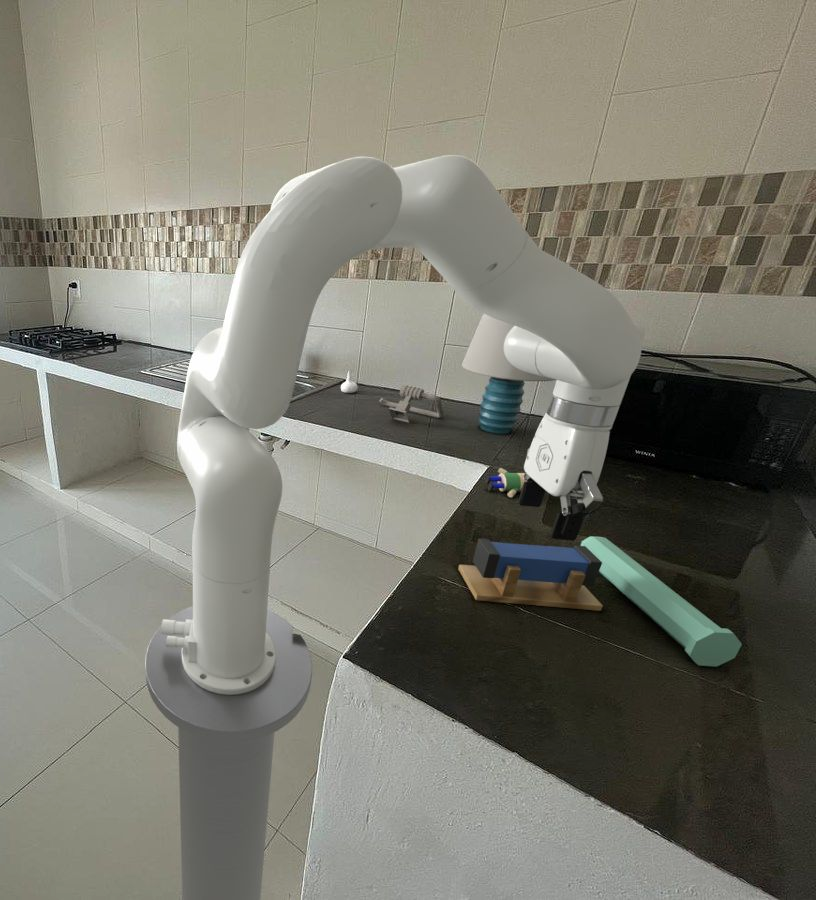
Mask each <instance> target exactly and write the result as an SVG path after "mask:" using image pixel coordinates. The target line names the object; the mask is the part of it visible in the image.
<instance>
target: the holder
mask: <svg viewBox="0 0 816 900" xmlns="http://www.w3.org/2000/svg"><path fill="white" fill-rule="evenodd" d="M496 542H497V543H500V542H498V541H496ZM551 546H552V547H556V546H555V545H554V546H553V545H551ZM457 569H458V572H459V573H460V575H461V576H462V578H463V580H464V582H465V583H466V586H467V587H468V589H469V591H470V592H471V594H472V596H473V598H474V600H475V601H479V602H480V601H481V602H491V603H493V602H494V603H503V604H504V603H505V604H515V605H526V606H527V605H528V606H540V607H550V608H562V609H563V608H564V609H572V610H573V609H574V610H575V609H576V610H587V611H597V612H598V611H599V612H600V611H602V610H603V604H602V603H601V602H600V601H599V599H597V598H596V597H595V596H594V594H593V593H592V592H591V591H590V590H589V589H588V588H587V586H583V585H582V584H583V581H584V578H585V576H586V575H585V574H584V573H583V572H582V571H570V574H569V577H568V580H567V583H566V584H565V583H553V582H540V581H528V580H518V579H519V575H520V572H521V569H520V568H519V567H518V566H507V568H506V571H505V575H504V578H483V577H482V575H481V574H480V572H479V570H478V569H477V567H476V566H475V565H472V564H471V565H470V564H459V565H458V567H457Z"/></svg>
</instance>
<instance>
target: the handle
mask: <svg viewBox="0 0 816 900" xmlns="http://www.w3.org/2000/svg"><path fill="white" fill-rule="evenodd" d="M476 542H477V543H476V546H475V551H474V553H473V558H472V563H473V564H474V566H476V567H477V569H478V570H479V572H480V574H481V575H482V577H483V578H504V575H505V571H506V568H507V566H518V567H519V568H520V569H521V572H520V575H519V579H518V580H528V581H540V582H553V583H565V584H566V583H567V580H568V577H569V574H570V571H582V572H583V573H584V574H585V575H586V576H585V578H584V581H583V584H582V585H583V586H585V587H594V586H595V583H596V581H597V578H598V576H599V573H600V572H599V570H600V567H601V565H602V562H601V561H600V560H599V559H598V558H597V557H596V556H595V555H594V554H593V553H592V552H591V551H590V550H589V549H588V548H587V547H585V546H580V545H574V546H573V547H565V546H564V547H563V546H561V547H560V546H555V547H552V546H553V545H538V544H535V545H534V544H524V543H523V544H521V543H509V542H499V543H497V542H498V541H491V540H490V538H478V539H477V541H476Z"/></svg>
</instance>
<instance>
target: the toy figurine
mask: <svg viewBox="0 0 816 900" xmlns="http://www.w3.org/2000/svg"><path fill="white" fill-rule="evenodd" d="M497 473H499V474H498V475H494V476H493V475H488V476H486V478H485V480H484V483H485V485H488V486H487V491H488V492H492V491H493V489H499V491H500V492H507V494H506V495H507V497H508V498H513V497H514V496H515V495H516V494H517V493H521V490H522V487H523V484H524V482H527V481H525V480H524V474H525V473H526V472H509V471H508V470H506V469H504V468H502V467H499V468H498V470H497Z"/></svg>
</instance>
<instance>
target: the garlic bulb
mask: <svg viewBox="0 0 816 900" xmlns="http://www.w3.org/2000/svg"><path fill="white" fill-rule="evenodd" d="M340 391H341V392H342V393H345V394H353V393H356V392H357V391H358V384H357V383H356V382H355V381H354V380H353V378H352V371H350V370H348V371H347V375H346V381H344V382H342V384H341V385H340Z"/></svg>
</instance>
